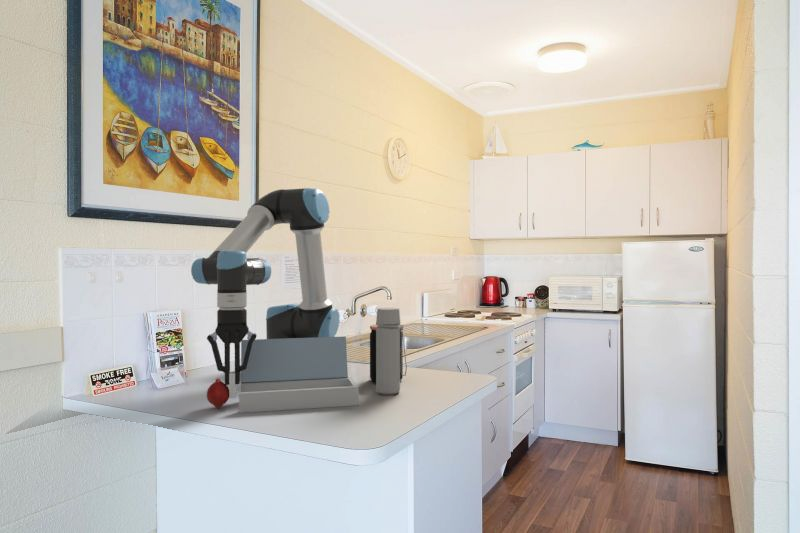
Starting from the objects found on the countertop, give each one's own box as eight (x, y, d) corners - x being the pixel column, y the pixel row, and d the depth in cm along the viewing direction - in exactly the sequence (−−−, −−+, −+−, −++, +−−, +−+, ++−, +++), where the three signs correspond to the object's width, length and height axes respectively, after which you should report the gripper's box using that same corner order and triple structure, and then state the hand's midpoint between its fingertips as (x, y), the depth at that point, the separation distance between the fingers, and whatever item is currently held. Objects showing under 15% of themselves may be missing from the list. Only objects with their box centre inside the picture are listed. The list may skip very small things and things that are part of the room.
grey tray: (241, 401, 155) (240, 383, 155) (351, 394, 163) (351, 377, 163) (239, 412, 144) (239, 393, 144) (358, 405, 151) (358, 386, 151)
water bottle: (377, 396, 161) (377, 309, 161) (374, 390, 169) (374, 307, 168) (408, 395, 162) (408, 309, 162) (404, 388, 170) (404, 307, 170)
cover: (241, 385, 156) (241, 341, 160) (347, 379, 164) (345, 337, 168) (240, 384, 155) (241, 340, 159) (347, 379, 162) (345, 336, 166)
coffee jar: (399, 385, 175) (399, 328, 175) (366, 383, 177) (366, 327, 177) (405, 378, 186) (405, 324, 186) (374, 376, 188) (374, 323, 188)
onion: (207, 406, 150) (207, 376, 150) (230, 404, 152) (229, 375, 152) (205, 411, 145) (205, 380, 145) (229, 410, 146) (229, 379, 146)
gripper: (204, 310, 144) (205, 401, 144) (256, 309, 147) (257, 398, 147) (207, 307, 151) (208, 394, 151) (257, 306, 154) (257, 392, 154)
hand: (232, 396), depth 149 cm, fingers closed
